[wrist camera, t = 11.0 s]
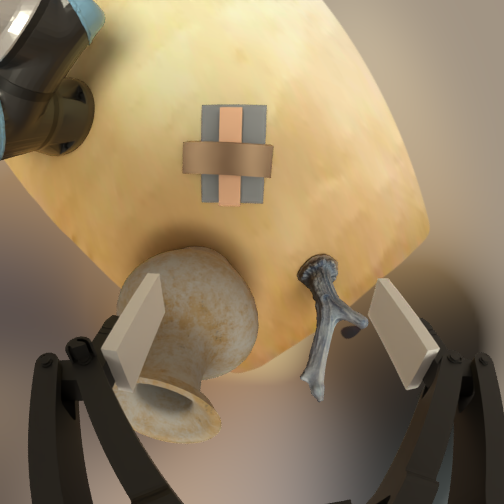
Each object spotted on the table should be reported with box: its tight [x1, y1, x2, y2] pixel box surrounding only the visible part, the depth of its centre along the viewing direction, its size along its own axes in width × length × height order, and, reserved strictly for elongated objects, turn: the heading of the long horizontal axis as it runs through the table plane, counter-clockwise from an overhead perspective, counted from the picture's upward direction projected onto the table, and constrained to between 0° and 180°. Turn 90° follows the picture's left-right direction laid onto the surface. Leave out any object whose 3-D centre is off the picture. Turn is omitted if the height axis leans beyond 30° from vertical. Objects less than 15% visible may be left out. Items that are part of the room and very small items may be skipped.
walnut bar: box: [183, 141, 273, 178], centre depth 34 cm, size 11×4×4 cm, turn 86°
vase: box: [112, 246, 258, 444], centre depth 38 cm, size 22×22×30 cm
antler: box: [297, 255, 368, 402], centre depth 41 cm, size 12×8×25 cm
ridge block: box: [201, 105, 267, 206], centre depth 40 cm, size 10×16×7 cm, turn 178°
